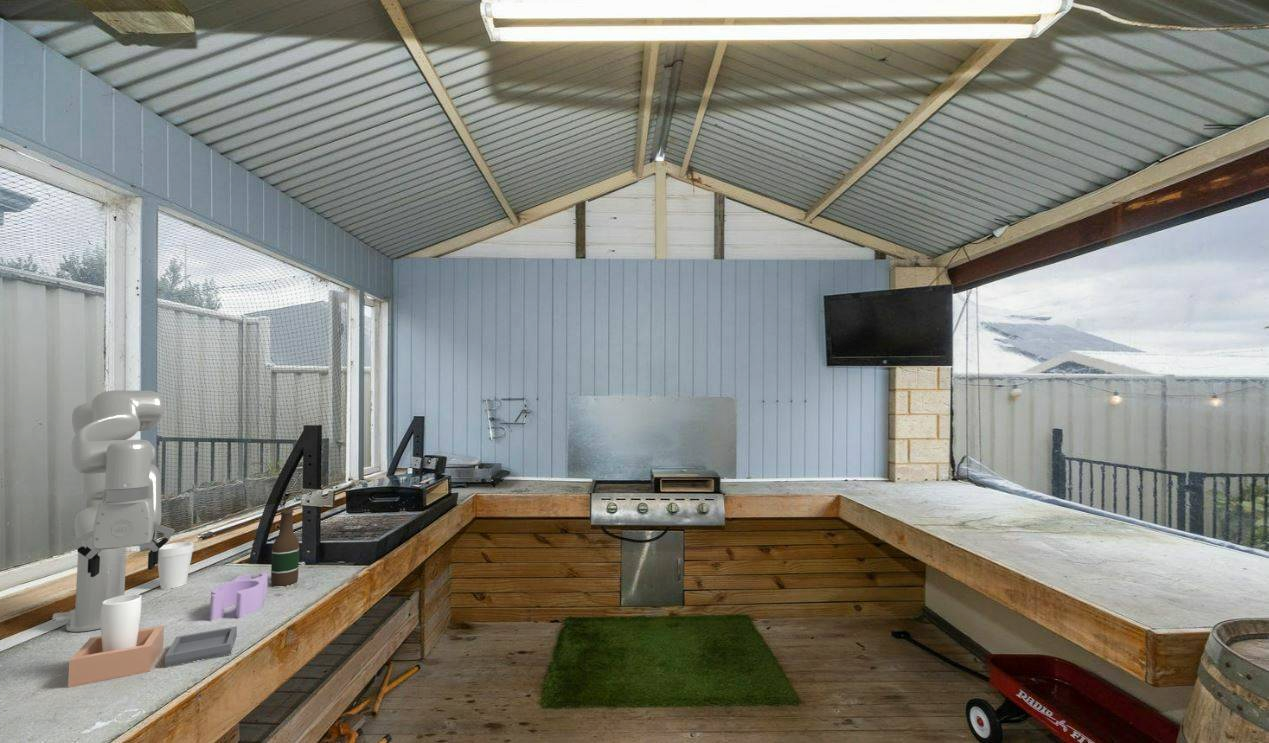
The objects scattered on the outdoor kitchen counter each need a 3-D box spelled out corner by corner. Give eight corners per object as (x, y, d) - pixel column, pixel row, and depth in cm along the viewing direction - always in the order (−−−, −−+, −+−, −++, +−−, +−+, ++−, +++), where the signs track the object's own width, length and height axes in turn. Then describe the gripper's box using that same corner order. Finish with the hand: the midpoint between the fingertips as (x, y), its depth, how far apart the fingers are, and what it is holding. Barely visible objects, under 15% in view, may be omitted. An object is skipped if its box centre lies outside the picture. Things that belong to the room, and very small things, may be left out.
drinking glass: (101, 677, 119) (104, 606, 119) (95, 668, 123) (98, 600, 124) (142, 665, 124) (145, 597, 125) (135, 657, 128) (138, 591, 129)
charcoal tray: (164, 667, 123) (165, 656, 123) (175, 647, 133) (176, 636, 133) (230, 654, 129) (231, 644, 129) (236, 636, 139) (236, 626, 139)
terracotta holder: (68, 687, 114) (69, 660, 115) (89, 662, 126) (90, 637, 126) (149, 671, 121) (150, 646, 121) (162, 648, 132) (163, 625, 133)
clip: (232, 597, 168) (233, 574, 168) (278, 593, 171) (279, 571, 171) (199, 622, 148) (200, 596, 149) (251, 618, 152) (252, 592, 152)
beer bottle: (295, 578, 185) (297, 506, 187) (301, 583, 180) (303, 509, 181) (268, 583, 180) (270, 509, 181) (273, 589, 174) (276, 513, 176)
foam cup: (196, 584, 179) (198, 544, 180) (161, 593, 171) (162, 551, 172) (185, 579, 184) (186, 540, 185) (149, 587, 176) (151, 546, 177)
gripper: (68, 501, 118) (64, 583, 117) (172, 494, 127) (169, 569, 125) (81, 497, 124) (77, 574, 123) (178, 490, 133) (176, 562, 132)
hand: (123, 571), depth 124 cm, fingers open, 9 cm apart
